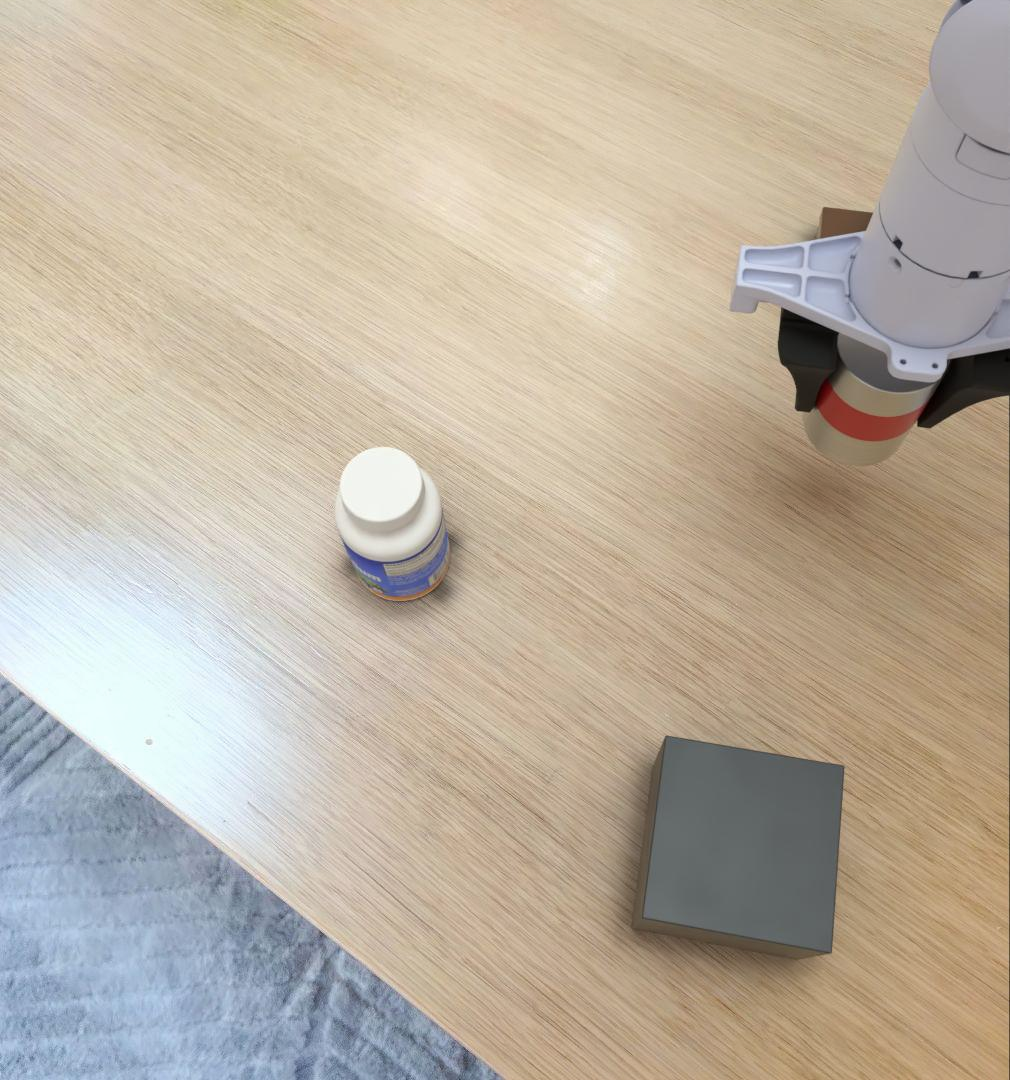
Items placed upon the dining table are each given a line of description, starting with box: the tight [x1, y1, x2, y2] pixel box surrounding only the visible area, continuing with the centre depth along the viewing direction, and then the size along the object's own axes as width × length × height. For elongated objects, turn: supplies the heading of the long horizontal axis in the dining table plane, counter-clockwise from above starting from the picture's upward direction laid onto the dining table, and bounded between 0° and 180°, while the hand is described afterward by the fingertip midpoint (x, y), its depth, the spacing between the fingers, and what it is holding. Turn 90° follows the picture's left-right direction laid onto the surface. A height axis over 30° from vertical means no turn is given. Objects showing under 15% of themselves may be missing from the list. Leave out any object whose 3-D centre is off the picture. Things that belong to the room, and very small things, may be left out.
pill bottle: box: [333, 446, 451, 602], centre depth 58 cm, size 5×5×10 cm
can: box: [801, 333, 952, 467], centre depth 51 cm, size 5×5×7 cm
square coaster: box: [630, 735, 846, 961], centre depth 52 cm, size 8×8×7 cm
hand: (863, 401), depth 53 cm, fingers closed on can, 5 cm apart
